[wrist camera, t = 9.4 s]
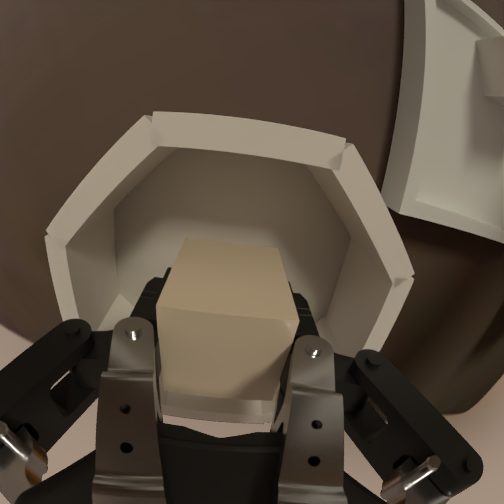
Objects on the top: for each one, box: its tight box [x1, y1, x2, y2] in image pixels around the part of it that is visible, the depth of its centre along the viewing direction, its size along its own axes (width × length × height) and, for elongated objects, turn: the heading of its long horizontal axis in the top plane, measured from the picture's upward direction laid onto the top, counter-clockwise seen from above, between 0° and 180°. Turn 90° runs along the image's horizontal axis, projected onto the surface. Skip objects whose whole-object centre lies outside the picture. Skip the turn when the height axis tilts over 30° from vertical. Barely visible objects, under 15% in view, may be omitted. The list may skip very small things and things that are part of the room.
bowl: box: [45, 112, 415, 424], centre depth 12 cm, size 14×14×5 cm
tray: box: [381, 0, 504, 243], centre depth 10 cm, size 15×15×2 cm
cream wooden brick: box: [156, 237, 300, 401], centre depth 10 cm, size 4×4×5 cm
